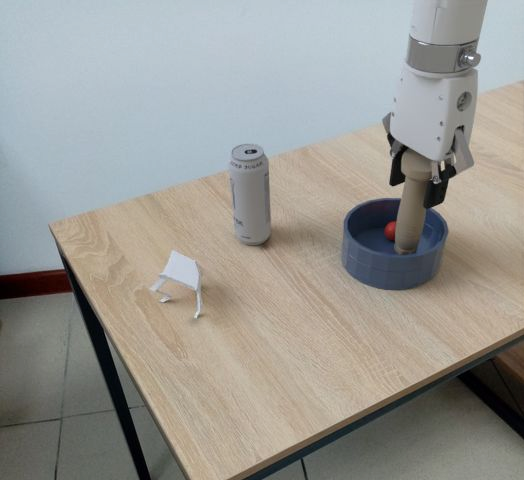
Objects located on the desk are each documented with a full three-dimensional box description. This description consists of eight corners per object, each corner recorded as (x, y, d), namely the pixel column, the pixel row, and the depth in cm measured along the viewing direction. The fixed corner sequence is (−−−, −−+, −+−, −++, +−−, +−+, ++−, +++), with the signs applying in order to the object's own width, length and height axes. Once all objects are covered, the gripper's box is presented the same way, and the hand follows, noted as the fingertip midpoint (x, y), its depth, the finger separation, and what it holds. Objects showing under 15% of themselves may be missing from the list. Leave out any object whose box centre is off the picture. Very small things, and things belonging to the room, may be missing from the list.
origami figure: (141, 292, 80) (134, 266, 77) (186, 268, 84) (181, 242, 80) (187, 333, 74) (182, 307, 70) (234, 305, 77) (231, 279, 74)
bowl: (396, 219, 90) (401, 187, 86) (461, 266, 81) (470, 233, 76) (322, 250, 85) (323, 218, 81) (382, 303, 76) (387, 270, 72)
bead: (394, 231, 86) (396, 215, 84) (406, 240, 85) (409, 224, 82) (379, 237, 86) (381, 221, 83) (391, 246, 84) (394, 230, 82)
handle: (389, 264, 78) (403, 171, 67) (388, 238, 83) (401, 146, 72) (423, 265, 78) (443, 171, 67) (419, 239, 82) (438, 147, 71)
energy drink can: (234, 227, 91) (226, 143, 80) (269, 224, 91) (265, 140, 80) (236, 249, 87) (228, 163, 75) (273, 245, 87) (270, 159, 76)
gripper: (526, 66, 56) (483, 214, 69) (414, 25, 66) (395, 160, 79) (473, 84, 53) (439, 233, 67) (366, 39, 64) (355, 175, 77)
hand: (415, 192), depth 73 cm, fingers closed on handle, 6 cm apart
